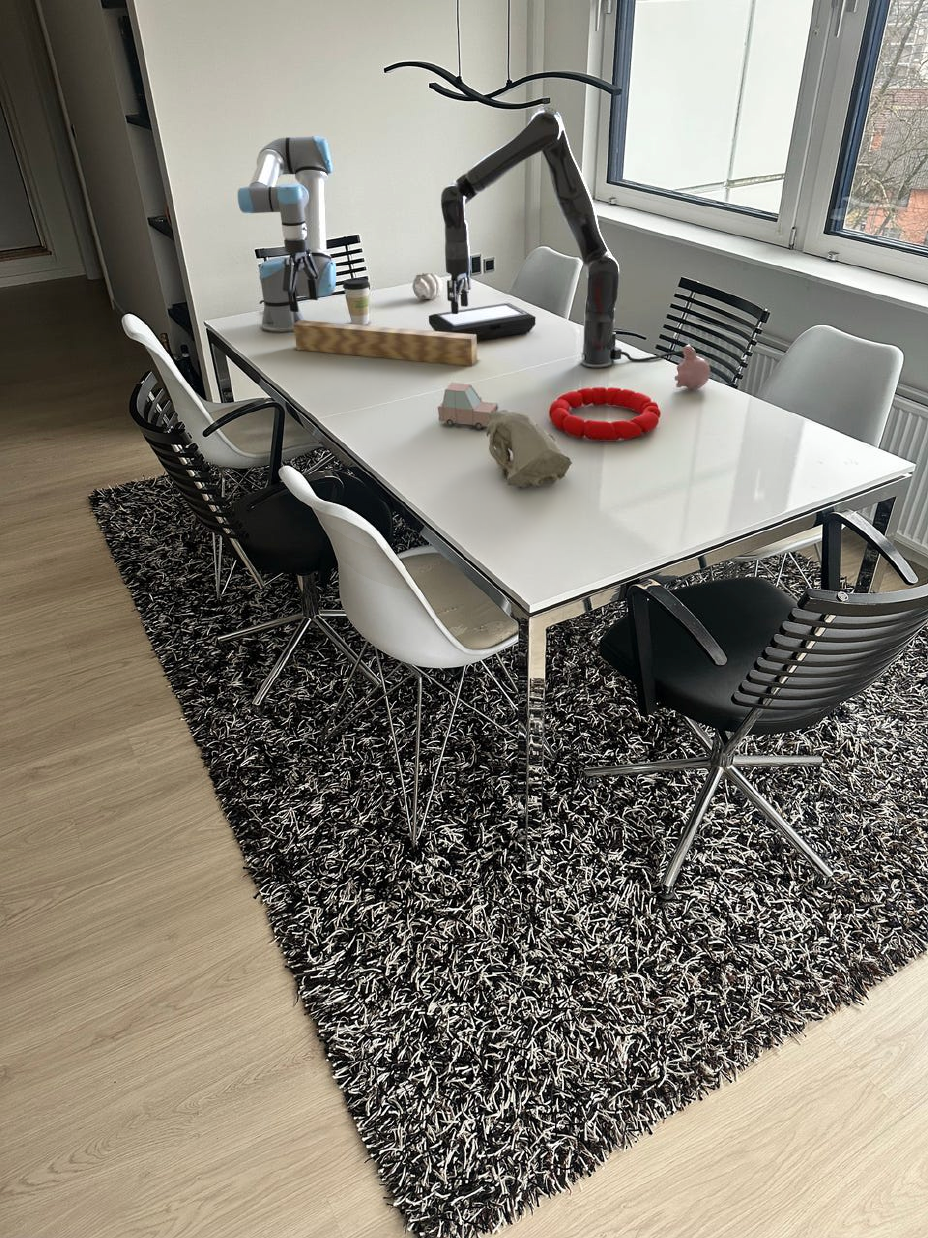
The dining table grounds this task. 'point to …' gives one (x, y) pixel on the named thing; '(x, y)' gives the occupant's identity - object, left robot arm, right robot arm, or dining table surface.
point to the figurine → (692, 370)
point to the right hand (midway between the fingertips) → (459, 309)
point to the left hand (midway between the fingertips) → (304, 305)
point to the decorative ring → (604, 428)
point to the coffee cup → (357, 299)
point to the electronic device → (485, 321)
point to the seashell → (427, 286)
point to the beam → (386, 342)
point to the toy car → (465, 406)
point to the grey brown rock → (525, 450)
